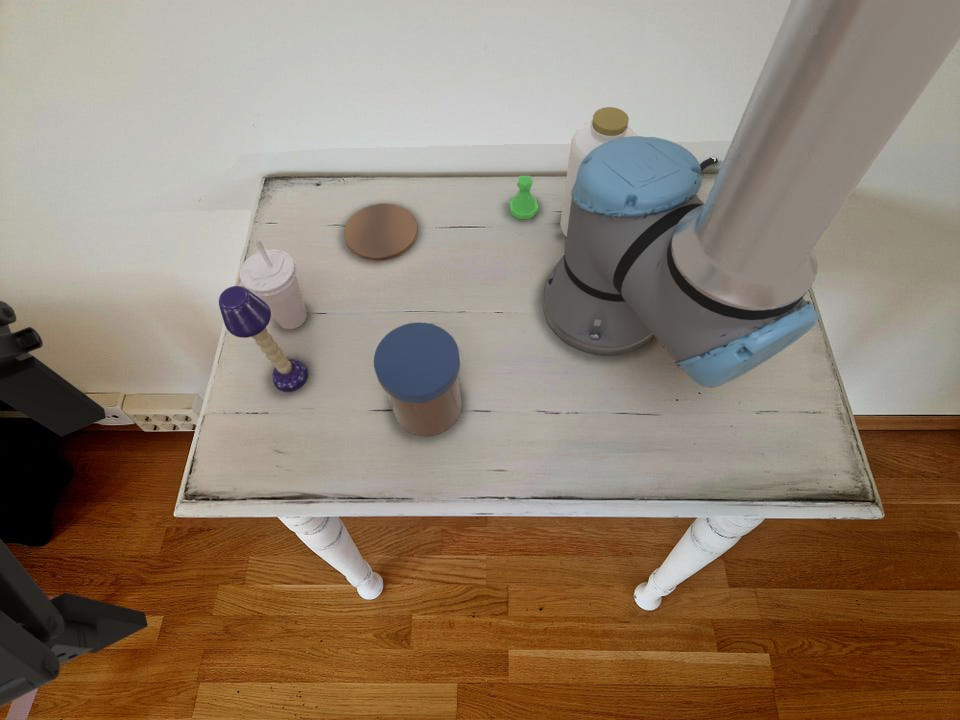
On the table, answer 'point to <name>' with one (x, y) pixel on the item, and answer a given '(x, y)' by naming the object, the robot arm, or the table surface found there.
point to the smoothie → (275, 285)
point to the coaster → (380, 232)
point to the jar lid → (417, 362)
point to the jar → (429, 413)
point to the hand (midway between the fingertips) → (100, 517)
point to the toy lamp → (260, 334)
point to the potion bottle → (592, 147)
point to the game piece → (524, 200)
